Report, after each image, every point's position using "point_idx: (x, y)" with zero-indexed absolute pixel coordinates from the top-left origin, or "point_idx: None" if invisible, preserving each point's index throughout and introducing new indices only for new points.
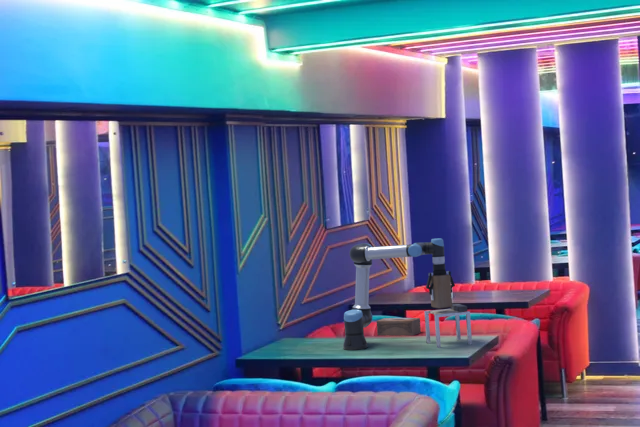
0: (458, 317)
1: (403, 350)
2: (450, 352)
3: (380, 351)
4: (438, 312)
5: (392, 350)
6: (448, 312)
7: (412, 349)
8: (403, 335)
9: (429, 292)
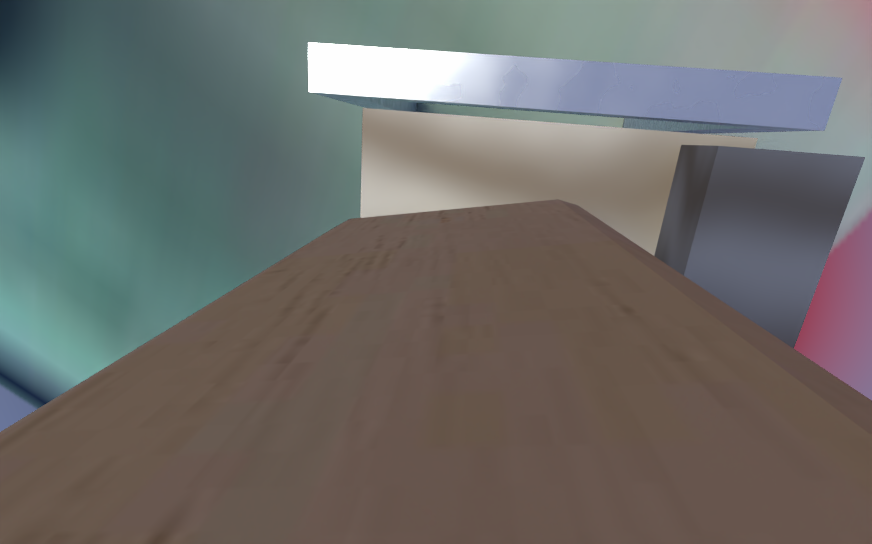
0: (731, 131)
1: (195, 266)
2: None
3: (70, 208)
4: None
5: (138, 223)
6: None
7: (247, 270)
8: None
9: None
